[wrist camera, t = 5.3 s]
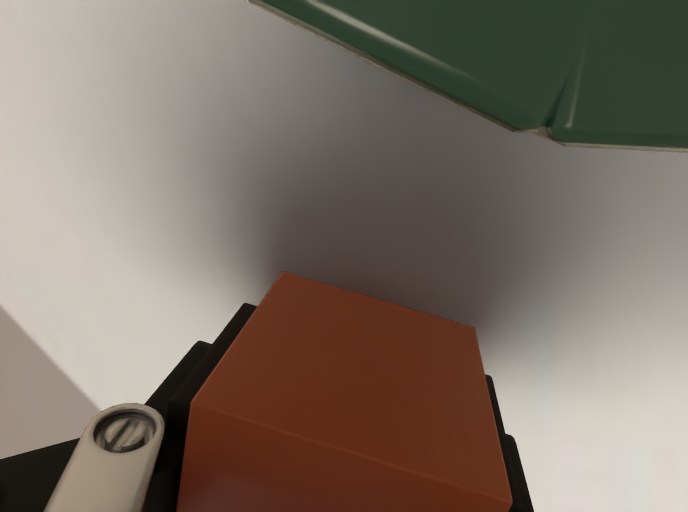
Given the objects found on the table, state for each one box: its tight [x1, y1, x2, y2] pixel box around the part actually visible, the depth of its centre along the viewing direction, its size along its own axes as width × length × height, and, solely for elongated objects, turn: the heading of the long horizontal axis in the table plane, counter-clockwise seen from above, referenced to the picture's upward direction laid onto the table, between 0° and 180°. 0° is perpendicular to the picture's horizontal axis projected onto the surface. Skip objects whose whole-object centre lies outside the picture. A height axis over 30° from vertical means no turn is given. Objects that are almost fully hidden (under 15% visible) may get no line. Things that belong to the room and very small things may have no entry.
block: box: [176, 271, 513, 512], centre depth 10 cm, size 5×5×5 cm
